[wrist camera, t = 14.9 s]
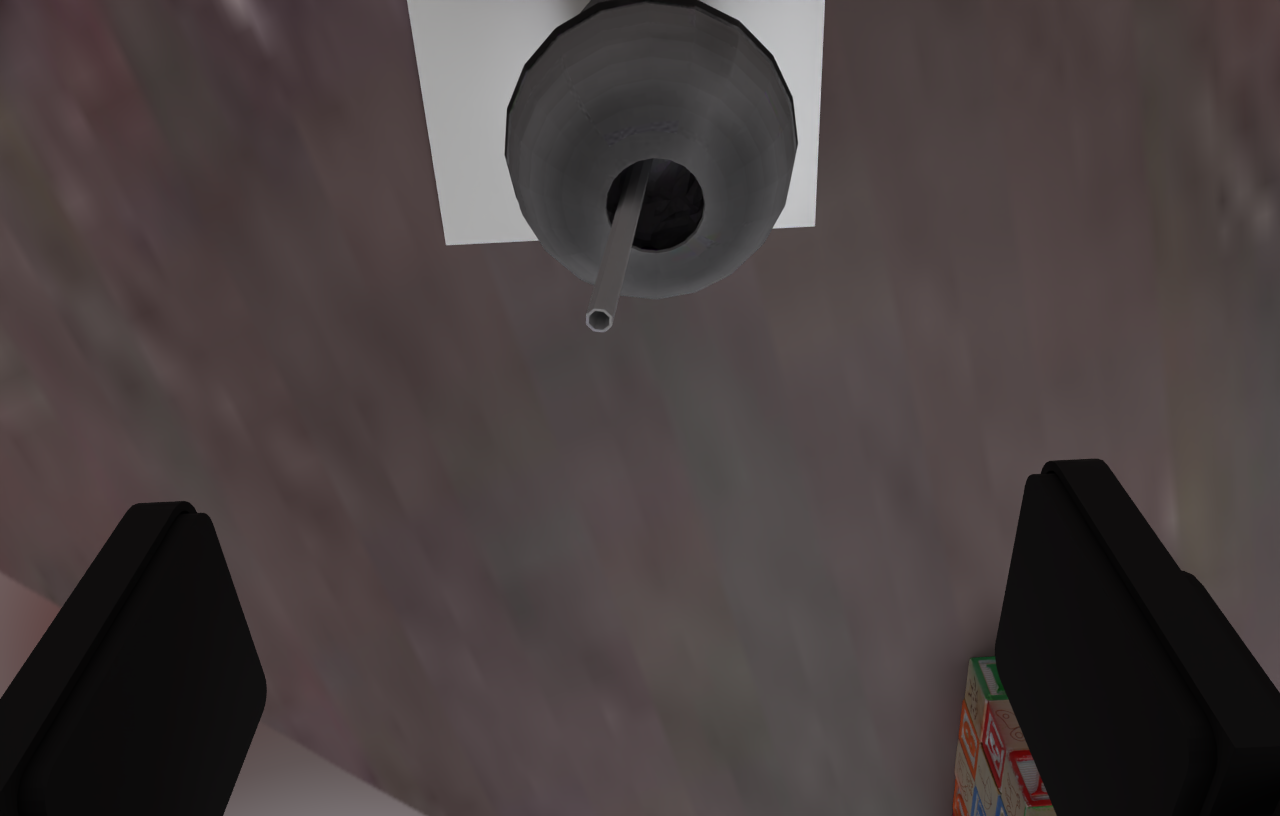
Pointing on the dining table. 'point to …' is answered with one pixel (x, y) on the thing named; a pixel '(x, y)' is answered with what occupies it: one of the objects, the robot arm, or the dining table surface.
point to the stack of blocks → (994, 753)
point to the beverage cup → (650, 148)
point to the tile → (490, 68)
